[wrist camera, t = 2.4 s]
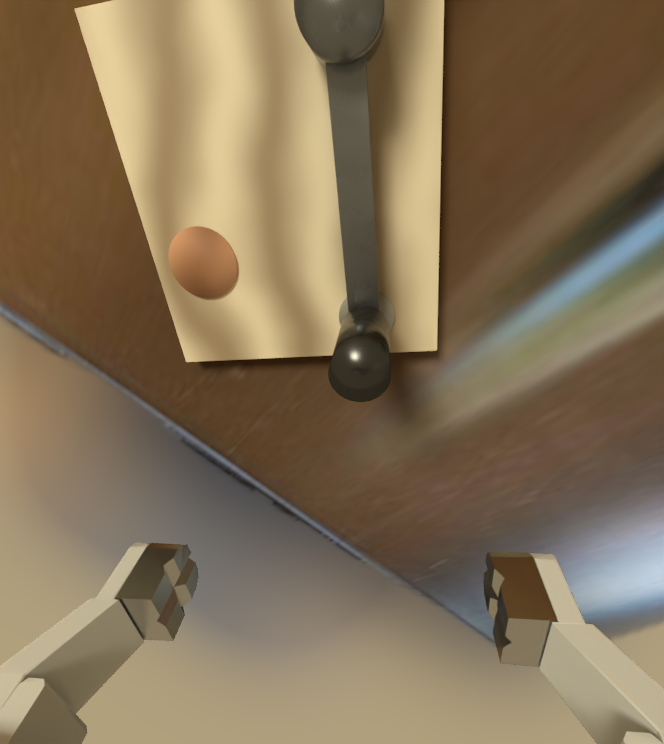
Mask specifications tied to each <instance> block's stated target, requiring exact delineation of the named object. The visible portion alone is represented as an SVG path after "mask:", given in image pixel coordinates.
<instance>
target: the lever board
mask: <svg viewBox="0 0 664 744" xmlns="http://www.w3.org/2000/svg"><path fill="white" fill-rule="evenodd" d="M75 12H76V15H77V19H78V22H79V25H80V28H81V31H82V34H83V38H84V41H85V44H86V47H87V50H88V53H89V57H90V60H91V63H92V66H93V69H94V72H95V75H96V79H97V82H98V85H99V88H100V91H101V94H102V98H103V101H104V104H105V107H106V110H107V113H108V116H109V120H110V123H111V126H112V129H113V132H114V135H115V139H116V142H117V145H118V148H119V151H120V154H121V157H122V161H123V164H124V167H125V170H126V173H127V176H128V180H129V183H130V186H131V189H132V192H133V195H134V199H135V202H136V205H137V208H138V211H139V214H140V217H141V221H142V224H143V227H144V230H145V233H146V236H147V240H148V243H149V246H150V249H151V252H152V255H153V258H154V262H155V265H156V268H157V271H158V274H159V277H160V281H161V284H162V287H163V290H164V293H165V296H166V299H167V303H168V306H169V309H170V312H171V315H172V318H173V322H174V325H175V328H176V331H177V334H178V337H179V340H180V344H181V347H182V350H183V353H184V356H185V359H186V362H199V361H221V360H243V359H264V358H286V357H308V356H330V355H333V352H334V349H335V345H336V342H337V338H338V334H339V331H340V327H341V324H342V321H343V318H344V317H345V315H346V314H347V313H348V302H347V291H346V280H345V270H344V259H343V248H342V237H341V226H340V215H339V205H338V194H337V183H336V172H335V161H334V151H333V140H332V129H331V118H330V107H329V96H328V86H327V75H326V67H325V66H324V65H322V64H321V63H320V62H319V60H318V59H317V58H316V56H315V55H314V53H313V52H312V50H311V49H310V47H309V45H308V44H307V42H306V41H305V39H304V38H303V36H302V34H301V32H300V30H299V27H298V24H297V21H296V17H295V11H294V0H113V1H108V2H104V3H99V4H94V5H90V6H85V7H81V8H76V9H75ZM443 37H444V0H385V23H384V31H383V35H382V39H381V42H380V44H379V47H378V49H377V50H376V52H375V54H374V55H373V57H372V58H371V59H370V60H369V61H368V62H367V75H368V94H369V113H370V132H371V151H372V170H373V190H374V209H375V228H376V247H377V266H378V285H379V304H380V311H381V312H382V313H383V314H384V315H385V316H386V318H387V320H388V323H389V336H390V353H395V352H417V351H437V330H438V281H439V232H440V184H441V135H442V86H443Z"/></svg>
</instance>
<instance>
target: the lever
mask: <svg viewBox="0 0 664 744" xmlns="http://www.w3.org/2000/svg"><path fill="white" fill-rule="evenodd" d="M294 11H295V17H296V21H297V24H298V27H299V30H300V32H301V34H302V36H303V38H304V39H305V41H306V42H307V44H308V45H309V47H310V49H311V50H312V52H313V53H314V55H315V56H316V58H317V59H318V60H319V62H320V63H321V64H322V65H324V66H325V67H326V75H327V86H328V96H329V107H330V118H331V129H332V140H333V151H334V161H335V172H336V183H337V194H338V205H339V215H340V226H341V237H342V248H343V259H344V270H345V280H346V291H347V302H348V313H347V314H346V315H345V317H344V318H343V321H342V324H341V327H340V331H339V334H338V338H337V342H336V345H335V349H334V352H333V356H332V359H331V363H330V367H329V372H328V375H329V381H330V384H331V386H332V387H333V389H334V390H335V391H336V392H337V393H338V394H339V395H340V396H342V397H344V398H346V399H348V400H351V401H356V402H365V401H370V400H373V399H375V398H377V397H379V396H380V395H381V394H382V393H383V392H384V391H385V390H386V389H387V387H388V385H389V382H390V336H389V323H388V320H387V318H386V316H385V315H384V314H383V313H382V312H381V311H380V304H379V285H378V266H377V247H376V228H375V209H374V190H373V170H372V151H371V132H370V113H369V94H368V75H367V62H368V61H369V60H370V59H371V58H372V57H373V55H374V54H375V52H376V50H377V49H378V47H379V44H380V42H381V39H382V35H383V31H384V23H385V0H294Z"/></svg>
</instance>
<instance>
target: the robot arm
mask: <svg viewBox="0 0 664 744" xmlns="http://www.w3.org/2000/svg"><path fill="white" fill-rule="evenodd" d="M190 554H191V551H190V549H189V547H188V545H182V544H159V543H137V542H136V543H135V544H133V545H132V546H131V547H130V548H129V549H128V551H127V552H126V554H125V555H124V557H123V558H122V560H121V561H120V563H119V564H118V566H117V567H116V569H115V570H114V572H113V573H112V575H111V576H110V578H109V579H108V581H107V582H106V584H105V585H104V587H103V588H102V590H101V591H100V593H99V594H98V596H97V597H96V598H91V599H89V600H88V601H86V602H85V603H84V604H82V605H81V606H80V607H78V608H77V609H76V610H74V611H73V612H72V613H70V614H69V615H68V616H66V617H65V618H64V619H62V620H61V621H60V622H58V623H57V624H56V625H54V626H53V627H52V628H50V629H49V630H48V631H46V632H45V633H43V634H42V635H41V636H40V637H38V638H37V639H35V640H34V641H33V642H32V643H30V644H29V645H27V646H26V647H25V648H23V649H22V650H21V651H19V652H18V653H17V654H15V655H14V656H13V657H11V658H10V659H9V660H8V661H6V662H5V663H3V664H2V665H1V666H0V744H82V742H83V740H84V738H85V736H86V734H87V726H86V725H85V724H84V723H83V721H82V720H81V719H80V718H79V717H78V716H77V715H76V713H77V712H78V711H79V710H80V708H82V706H83V705H84V704H85V703H86V702H87V701H88V700H89V699H90V698H91V697H92V696H93V695H94V694H95V693H96V692H97V691H98V690H99V689H100V687H102V685H103V684H104V683H105V682H106V681H107V680H108V679H109V678H110V677H111V676H112V675H113V674H114V673H115V672H116V671H117V670H118V669H119V668H120V667H121V666H122V664H123V663H124V662H125V661H126V660H127V659H128V658H129V657H130V656H131V655H132V654H133V653H134V652H135V651H136V650H137V649H138V648H139V647H140V646H141V644H142V643H143V642H144V640H166V641H173V640H174V638H175V635H176V634H177V631H178V629H179V627H180V625H181V622H182V620H183V618H184V616H185V614H184V609H183V606H184V605H185V604H186V603H187V602H189V601H190V600H191V599H192V597H193V595H194V592H195V590H196V587H197V582H198V568H197V565H196V563H195V562H194V561H193V560H191V559H190V558H189V556H190ZM485 562H486V565H487V569H488V570H487V571H486V572H484V581H483V583H484V595H485V601H486V605H487V610H488V613H489V615H490V616H491V617H492V618H493V619H494V620H495V621H494V628H493V635H494V639H495V643H496V647H497V651H498V655H499V659H500V663H503V664H514V665H524V666H535V667H540V668H539V670H540V671H541V672H542V673H543V674H544V676H545V677H546V679H547V680H548V681H549V682H550V684H551V685H552V686H553V687H554V689H555V690H556V691H557V693H558V694H559V695H560V697H561V698H562V699H563V700H564V702H565V703H566V704H567V706H568V707H569V708H570V709H571V711H572V712H573V713H574V715H575V716H576V717H577V718H578V720H579V721H580V722H581V724H582V725H583V726H584V727H585V729H586V730H587V731H588V733H589V734H590V735H591V736H592V738H593V739H594V740H595V742H596V743H597V744H664V689H663V688H662V687H661V686H660V685H659V684H658V683H656V682H655V681H654V680H653V679H652V678H651V677H650V676H649V675H648V674H647V673H646V672H645V671H643V670H642V669H641V668H640V667H639V666H638V665H637V664H636V663H635V662H634V661H632V660H631V659H630V658H629V657H628V656H627V655H626V654H625V653H624V652H623V651H621V649H619V648H618V647H617V646H616V645H615V644H614V643H613V642H612V641H611V640H610V639H608V638H607V637H606V636H605V635H604V634H603V633H602V632H601V631H600V630H599V629H598V628H596V627H595V626H594V625H593V624H586V623H585V621H584V619H583V617H582V614H581V612H580V610H579V608H578V606H577V603H576V601H575V599H574V597H573V594H572V592H571V590H570V588H569V586H568V583H567V581H566V579H565V577H564V575H563V572H562V570H561V568H560V566H559V564H558V561H557V559H556V558H555V557H554V556H553V554H543V553H518V552H488V553H487V554H486V561H485Z"/></svg>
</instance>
